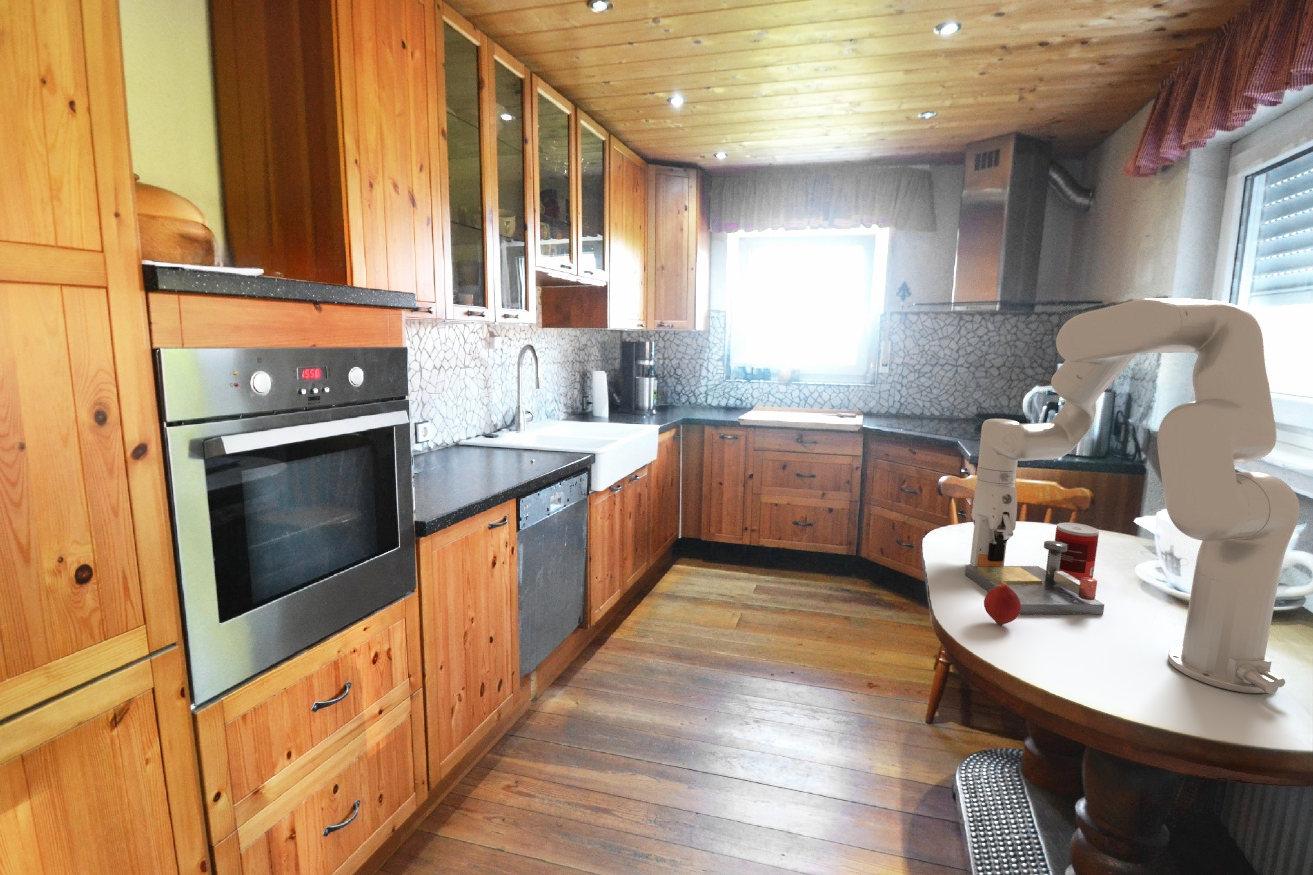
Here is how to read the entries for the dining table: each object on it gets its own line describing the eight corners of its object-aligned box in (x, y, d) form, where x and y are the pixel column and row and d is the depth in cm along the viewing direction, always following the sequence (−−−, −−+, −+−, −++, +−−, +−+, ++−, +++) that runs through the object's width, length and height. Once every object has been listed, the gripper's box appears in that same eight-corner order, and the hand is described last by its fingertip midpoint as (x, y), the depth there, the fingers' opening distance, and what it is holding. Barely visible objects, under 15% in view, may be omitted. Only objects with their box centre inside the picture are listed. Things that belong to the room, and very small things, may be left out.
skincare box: (974, 570, 144) (979, 517, 142) (969, 563, 148) (974, 512, 146) (1004, 572, 143) (1010, 519, 141) (999, 566, 147) (1004, 514, 145)
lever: (1051, 580, 131) (1053, 563, 130) (1063, 580, 131) (1065, 563, 130) (1084, 600, 121) (1086, 582, 120) (1098, 600, 121) (1100, 582, 120)
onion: (1014, 619, 119) (1018, 578, 118) (1022, 633, 114) (1027, 590, 112) (979, 615, 121) (983, 574, 119) (985, 629, 115) (990, 586, 114)
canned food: (1080, 571, 145) (1086, 523, 143) (1100, 584, 137) (1107, 534, 135) (1043, 569, 145) (1049, 521, 144) (1062, 582, 138) (1068, 532, 136)
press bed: (1103, 614, 122) (1110, 563, 120) (1019, 614, 121) (1025, 563, 120) (1037, 574, 142) (1042, 530, 140) (964, 574, 141) (969, 530, 139)
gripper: (1037, 485, 134) (1027, 570, 137) (991, 467, 151) (983, 543, 154) (1001, 485, 133) (992, 570, 136) (959, 467, 150) (952, 543, 153)
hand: (987, 555), depth 145 cm, fingers closed on skincare box, 5 cm apart
